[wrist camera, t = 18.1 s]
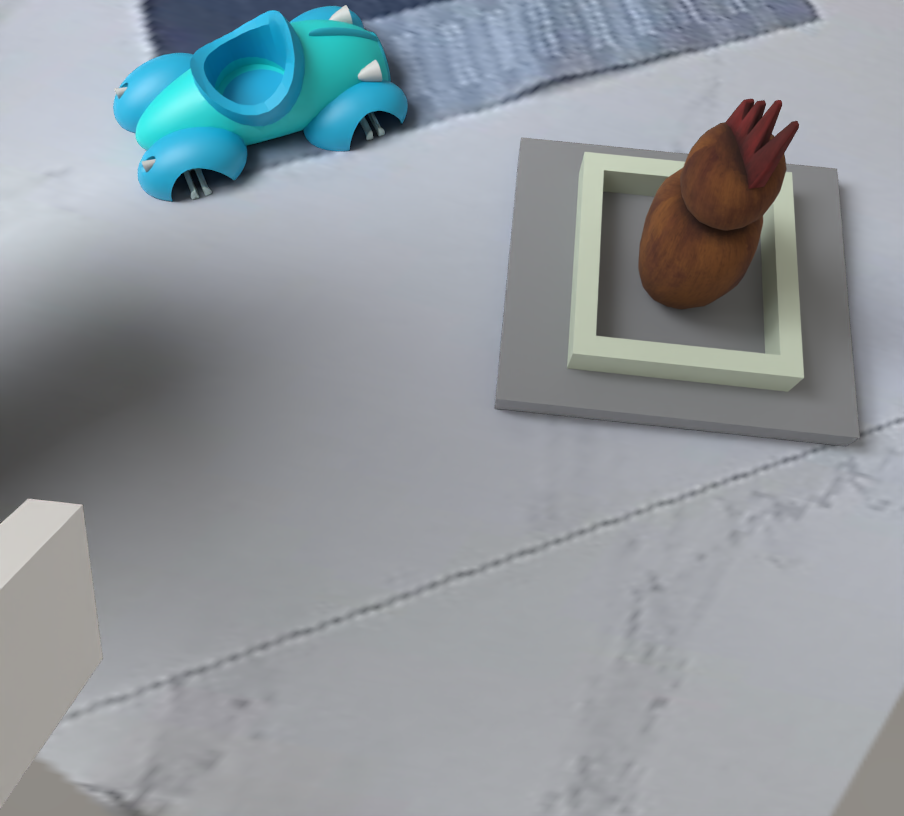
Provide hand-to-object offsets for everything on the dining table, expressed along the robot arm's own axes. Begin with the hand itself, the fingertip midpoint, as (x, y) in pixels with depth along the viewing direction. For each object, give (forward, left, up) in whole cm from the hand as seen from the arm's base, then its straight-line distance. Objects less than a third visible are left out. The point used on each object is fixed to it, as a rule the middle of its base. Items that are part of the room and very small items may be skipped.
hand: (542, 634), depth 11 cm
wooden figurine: (+10, +24, -28) cm, 38 cm away
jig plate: (+10, +24, -30) cm, 39 cm away
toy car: (-17, +34, -30) cm, 49 cm away
